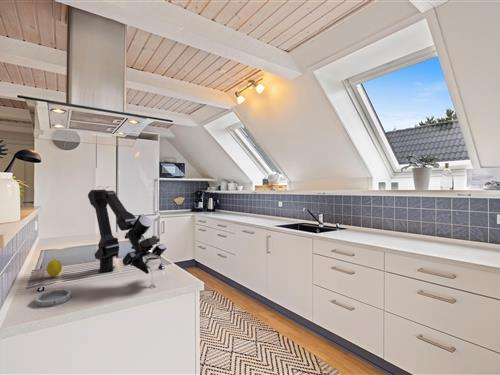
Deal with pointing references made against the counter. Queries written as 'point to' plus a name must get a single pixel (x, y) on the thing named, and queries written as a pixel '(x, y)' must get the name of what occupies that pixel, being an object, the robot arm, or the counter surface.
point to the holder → (52, 298)
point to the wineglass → (152, 266)
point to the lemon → (54, 268)
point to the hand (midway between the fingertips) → (154, 270)
